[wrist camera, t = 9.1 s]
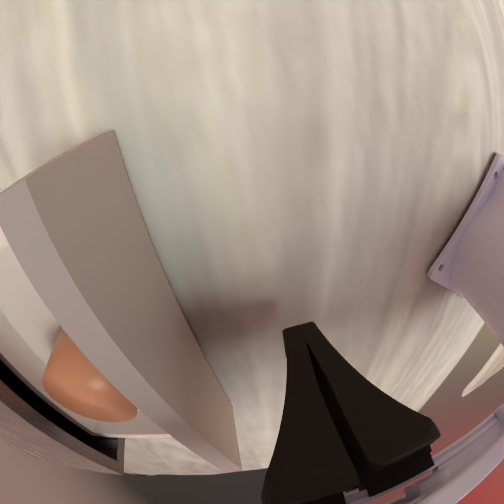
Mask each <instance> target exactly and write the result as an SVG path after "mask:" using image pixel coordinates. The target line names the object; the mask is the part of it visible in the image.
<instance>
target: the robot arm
mask: <svg viewBox="0 0 504 504" xmlns="http://www.w3.org/2000/svg"><path fill="white" fill-rule="evenodd" d="M428 277H429V278H430V279H431V280H433V281H434V282H436V283H438V284H440V285H442V286H443V287H445V288H447V289H449V290H451V291H452V292H454V293H456V294H458V295H459V296H461V297H463V298H465V299H466V300H467V301H468V302H469V303H470V305H471V306H472V307H473V308H474V309H475V310H476V312H477V313H478V314H479V315H480V316H481V318H482V319H483V320H484V321H485V323H486V324H487V325H488V326H489V328H490V329H491V330H492V332H493V333H494V334H495V335H496V337H497V338H498V339H499V341H500V342H501V344H502V345H503V346H504V156H503V155H501V154H499V153H498V154H496V156H495V158H494V160H493V162H492V164H491V166H490V169H489V171H488V173H487V175H486V177H485V179H484V181H483V183H482V185H481V187H480V189H479V191H478V192H477V194H476V196H475V198H474V200H473V202H472V204H471V205H470V207H469V209H468V211H467V212H466V214H465V216H464V217H463V219H462V221H461V222H460V224H459V226H458V227H457V229H456V231H455V232H454V234H453V235H452V237H451V238H450V240H449V241H448V243H447V244H446V246H445V247H444V249H443V250H442V252H441V253H440V255H439V256H438V258H437V259H436V261H435V262H434V263H433V265H432V266H431V268H430V269H429V271H428ZM283 339H284V346H285V353H286V358H287V382H286V394H285V402H284V409H283V415H282V420H281V425H280V430H279V434H278V438H277V442H276V445H275V449H274V453H273V456H272V459H271V462H270V465H269V467H268V470H267V473H266V476H265V481H264V485H263V490H262V496H261V500H262V504H362V503H365V502H367V501H370V500H372V499H375V498H377V497H379V496H382V495H384V494H386V493H388V492H390V491H393V490H395V489H397V488H399V487H401V486H403V485H405V484H407V483H409V482H411V481H413V480H415V479H416V478H418V477H420V476H422V475H424V474H425V473H427V472H429V471H431V470H432V469H433V471H432V474H431V475H429V476H426V477H424V478H422V479H420V480H419V481H417V482H415V483H413V484H412V485H410V486H408V487H406V488H405V489H404V491H405V495H403V496H401V497H399V498H397V499H395V500H392V501H390V502H388V503H385V504H456V503H457V502H458V501H460V500H461V499H462V498H463V497H464V496H466V495H467V494H468V493H469V492H470V491H471V490H472V489H473V488H475V486H477V485H478V484H479V483H480V482H481V481H482V480H483V479H484V478H485V477H486V476H487V475H488V474H489V473H490V472H491V471H492V470H493V469H494V468H495V467H496V466H497V465H498V464H499V463H500V462H501V460H502V459H503V458H504V403H503V404H502V405H501V406H500V407H499V408H498V409H497V410H495V412H493V413H492V414H491V415H490V416H489V417H487V418H486V419H485V420H484V421H482V422H481V423H480V424H479V425H478V426H477V427H475V428H474V429H473V430H472V431H470V432H469V433H467V434H466V435H465V436H463V437H462V438H460V439H459V440H458V441H456V442H455V443H453V444H452V445H450V446H449V447H447V448H445V449H444V450H442V451H441V452H439V453H438V454H436V455H434V456H433V457H431V455H430V452H431V447H430V444H431V443H433V442H434V441H435V440H437V439H438V438H439V437H440V435H441V434H440V432H439V430H438V428H437V427H436V425H435V424H434V422H433V421H432V420H431V419H430V418H429V417H426V416H424V415H422V414H420V413H418V412H416V411H414V410H412V409H410V408H408V407H406V406H405V405H403V404H401V403H400V402H398V401H396V400H395V399H393V398H392V397H390V396H389V395H387V394H385V393H384V392H383V391H381V390H380V389H378V388H377V387H376V386H374V385H373V384H372V383H371V382H369V381H368V380H367V379H366V378H365V377H363V376H362V375H361V374H360V373H359V372H358V371H357V370H356V369H354V368H353V367H352V366H351V365H350V364H349V363H348V362H347V361H346V360H345V359H344V358H343V357H342V356H341V355H340V354H339V352H338V351H337V350H336V349H335V348H334V347H333V346H332V345H331V344H330V342H329V341H328V340H327V339H326V338H325V336H324V335H323V334H322V333H321V331H320V330H319V329H318V327H317V326H316V324H315V323H314V322H309V323H305V324H301V325H298V326H294V327H290V328H286V329H284V330H283ZM358 488H359V491H360V492H357V493H355V494H352V495H349V496H346V497H344V495H343V492H344V491H345V492H346V493H347V492H350V491H352V490H355V489H358Z"/></svg>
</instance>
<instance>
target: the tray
mask: <svg viewBox="0 0 504 504" xmlns="http://www.w3.org/2000/svg"><path fill="white" fill-rule="evenodd" d="M61 327H62V328H63V329H64V331H65V332H66V333H67V335H68V336H69V337H70V338H71V339H72V341H73V342H74V343H75V344H76V346H77V347H78V348H79V349H80V350H81V351H82V353H83V354H84V355H85V356H86V357H87V358H88V359H89V361H90V362H91V363H92V364H93V365H94V366H95V367H96V368H97V369H98V370H99V371H100V373H101V374H102V375H103V376H104V377H105V378H106V379H107V380H108V381H109V382H110V383H111V384H112V385H113V386H114V387H115V388H116V389H117V390H118V391H119V392H120V393H121V394H122V395H124V396H125V397H126V398H127V399H128V400H129V401H130V402H131V403H132V404H133V405H134V406H136V407H137V408H138V411H137V416H136V417H135V418H134V419H132V420H130V421H126V422H116V423H115V422H104V421H98V420H94V419H90V418H87V417H84V416H82V415H79V414H77V413H74V412H72V411H70V410H68V409H67V408H65V407H63V406H62V405H60V404H59V403H57V402H56V401H55V400H54V399H53V398H51V397H50V396H49V395H48V393H47V392H46V391H45V389H44V387H43V385H42V378H43V375H44V372H45V369H46V366H47V363H48V360H49V357H50V354H51V351H52V349H53V346H54V343H55V341H56V338H57V335H58V333H59V330H60V328H61ZM0 359H1V361H2V362H3V363H4V364H5V365H6V366H7V367H8V368H9V369H10V370H11V371H12V372H13V373H14V374H15V375H16V376H17V377H18V378H19V379H20V380H21V381H22V382H23V383H25V384H26V385H27V386H28V387H29V388H30V389H31V390H32V391H33V392H35V393H36V394H37V395H38V396H39V397H40V398H42V399H43V400H44V401H45V402H46V403H48V404H49V405H50V406H51V407H53V408H54V409H55V410H56V411H58V412H59V413H60V414H62V415H63V416H64V417H66V418H67V419H68V420H70V421H71V422H73V423H74V424H75V425H77V426H78V427H80V428H81V429H83V430H84V431H86V432H87V433H89V434H90V435H92V436H101V437H117V438H167V437H173V438H175V439H176V440H177V441H179V442H180V443H182V444H183V445H184V446H186V447H187V448H189V449H190V450H191V451H193V452H194V453H196V454H197V455H199V456H200V457H202V458H203V459H205V460H206V461H208V462H210V463H211V464H213V465H214V466H216V467H218V468H219V469H221V470H223V471H224V472H229V471H238V470H242V466H241V460H240V454H239V448H238V441H237V435H236V428H235V421H234V414H233V407H232V405H231V403H230V401H229V400H228V398H227V396H226V394H225V393H224V391H223V389H222V387H221V386H220V384H219V382H218V380H217V379H216V377H215V375H214V373H213V371H212V369H211V368H210V366H209V364H208V362H207V360H206V358H205V356H204V354H203V353H202V351H201V349H200V347H199V345H198V343H197V341H196V339H195V337H194V335H193V333H192V331H191V329H190V327H189V325H188V323H187V321H186V319H185V317H184V314H183V312H182V310H181V308H180V306H179V304H178V302H177V300H176V297H175V295H174V293H173V291H172V288H171V286H170V284H169V282H168V279H167V277H166V275H165V273H164V270H163V268H162V265H161V263H160V261H159V258H158V256H157V253H156V251H155V249H154V246H153V244H152V241H151V238H150V236H149V233H148V231H147V228H146V226H145V223H144V220H143V218H142V215H141V212H140V209H139V207H138V204H137V201H136V198H135V195H134V192H133V189H132V187H131V184H130V181H129V178H128V174H127V171H126V168H125V165H124V162H123V159H122V155H121V152H120V149H119V145H118V142H117V138H116V135H115V131H111V132H108V133H106V134H103V135H101V136H98V137H96V138H94V139H91V140H89V141H87V142H84V143H82V144H80V145H78V146H76V147H75V148H73V149H71V150H69V151H67V152H65V153H63V154H61V155H60V156H58V157H56V158H54V159H52V160H51V161H49V162H47V163H45V164H44V165H42V166H40V167H39V168H37V169H35V170H34V171H32V172H31V173H29V174H28V175H26V176H24V177H23V178H21V179H20V180H18V181H17V182H15V183H14V184H12V185H11V186H10V187H8V188H7V189H5V190H4V191H2V192H1V193H0Z"/></svg>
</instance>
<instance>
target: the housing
mask: <svg viewBox="0 0 504 504" xmlns="http://www.w3.org/2000/svg"><path fill="white" fill-rule="evenodd" d="M0 440H2V441H3V442H5V443H6V444H8V445H9V446H11V447H13V448H14V449H16V450H17V451H19V452H22V453H24V454H27V455H30V456H33V457H36V458H40V459H43V460H47V461H50V462H54V463H58V464H62V465H66V466H70V467H75V468H80V469H85V470H90V471H96V472H103V473H110V474H118V475H124V445H125V438H117V437H101V436H92V435H90V434H89V433H87V432H86V431H84V430H83V429H81V428H80V427H78V426H77V425H75V424H74V423H73V422H71V421H70V420H68V419H67V418H66V417H64V416H63V415H62V414H60V413H59V412H58V411H56V410H55V409H54V408H53V407H51V406H44V405H35V404H28V403H27V402H26V401H25V400H23V399H22V398H21V397H20V396H19V395H18V394H16V393H15V392H14V391H13V390H12V389H11V388H10V387H9V386H8V385H6V384H5V383H4V382H3V381H2V380H1V379H0Z"/></svg>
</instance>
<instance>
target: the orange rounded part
mask: <svg viewBox="0 0 504 504" xmlns="http://www.w3.org/2000/svg"><path fill="white" fill-rule="evenodd" d="M42 385H43V387H44V389H45V391H46V392H47V393H48V395H49V396H50V397H51V398H53V399H54V400H55V401H56V402H57V403H59V404H60V405H62V406H63V407H65V408H67V409H68V410H70V411H72V412H74V413H77V414H79V415H82V416H84V417H87V418H90V419H94V420H98V421H104V422H115V423H116V422H126V421H130V420H132V419H134V418H135V417H136V416H137V411H138V408H137V407H136V406H134V405H133V404H132V403H131V402H130V401H129V400H128V399H127V398H126V397H125V396H124V395H122V394H121V393H120V392H119V391H118V390H117V389H116V388H115V387H114V386H113V385H112V384H111V383H110V382H109V381H108V380H107V379H106V378H105V377H104V376H103V375H102V374H101V373H100V371H99V370H98V369H97V368H96V367H95V366H94V365H93V364H92V363H91V362H90V361H89V359H88V358H87V357H86V356H85V355H84V354H83V353H82V351H81V350H80V349H79V348H78V347H77V346H76V344H75V343H74V342H73V341H72V339H71V338H70V337H69V336H68V335H67V333H66V332H65V331H64V329H63V328H62V327H61V328H60V330H59V333H58V335H57V338H56V341H55V343H54V346H53V349H52V351H51V354H50V357H49V360H48V363H47V366H46V369H45V372H44V375H43V378H42Z"/></svg>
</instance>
